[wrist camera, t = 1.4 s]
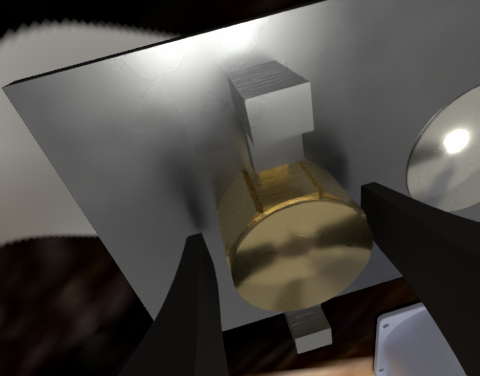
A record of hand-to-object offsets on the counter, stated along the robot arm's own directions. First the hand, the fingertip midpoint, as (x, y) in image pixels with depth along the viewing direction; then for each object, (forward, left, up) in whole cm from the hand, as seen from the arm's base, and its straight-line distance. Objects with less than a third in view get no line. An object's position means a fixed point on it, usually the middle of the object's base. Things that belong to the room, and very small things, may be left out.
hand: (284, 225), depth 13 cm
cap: (0, 0, -1) cm, 1 cm away
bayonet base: (0, -3, -2) cm, 4 cm away
